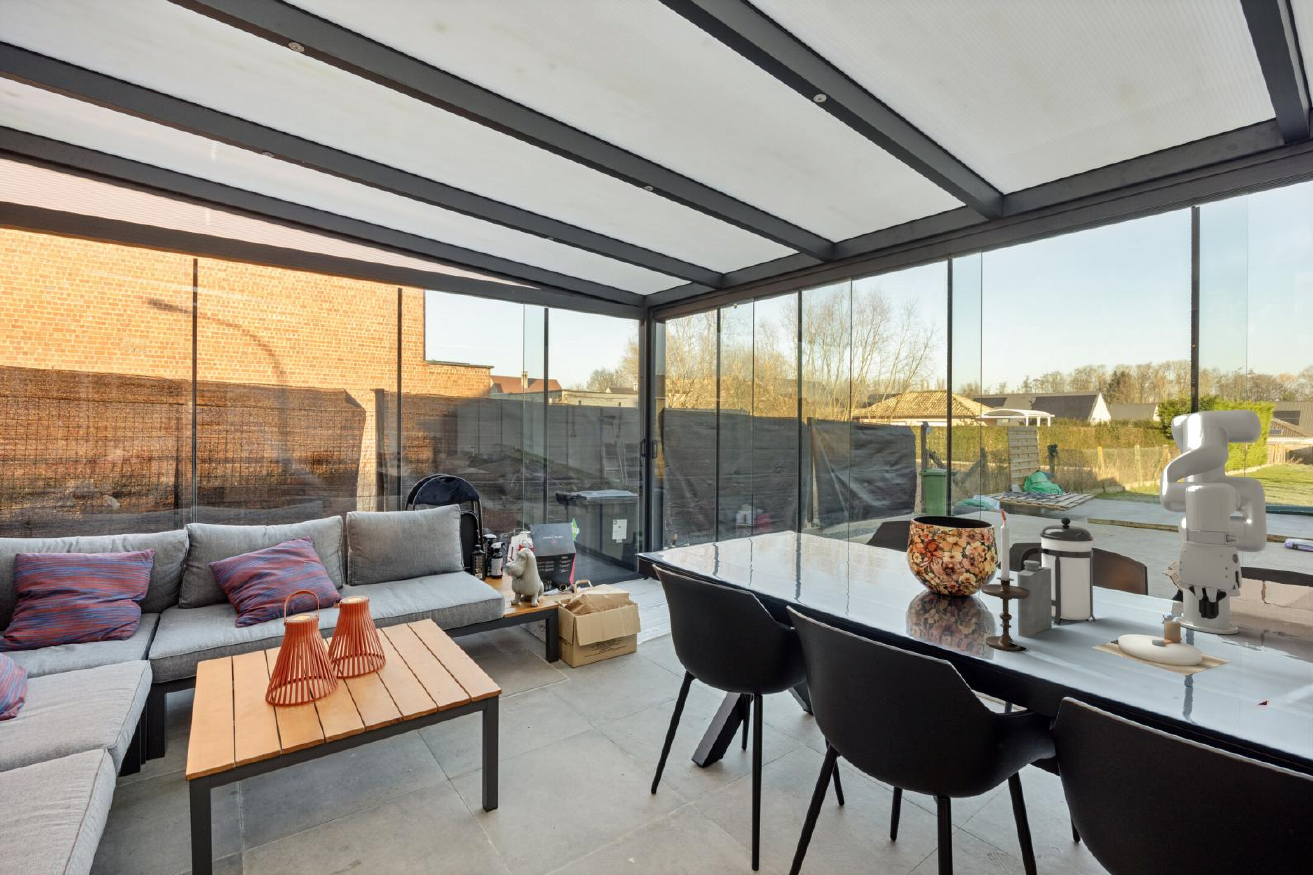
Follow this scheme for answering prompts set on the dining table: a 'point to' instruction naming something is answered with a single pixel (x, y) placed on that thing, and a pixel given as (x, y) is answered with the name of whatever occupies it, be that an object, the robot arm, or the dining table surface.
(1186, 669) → the dial base
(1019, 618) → the hip flask
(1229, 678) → the dining table surface
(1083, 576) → the coffee press
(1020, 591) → the candlestick
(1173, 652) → the cream oval with knob
